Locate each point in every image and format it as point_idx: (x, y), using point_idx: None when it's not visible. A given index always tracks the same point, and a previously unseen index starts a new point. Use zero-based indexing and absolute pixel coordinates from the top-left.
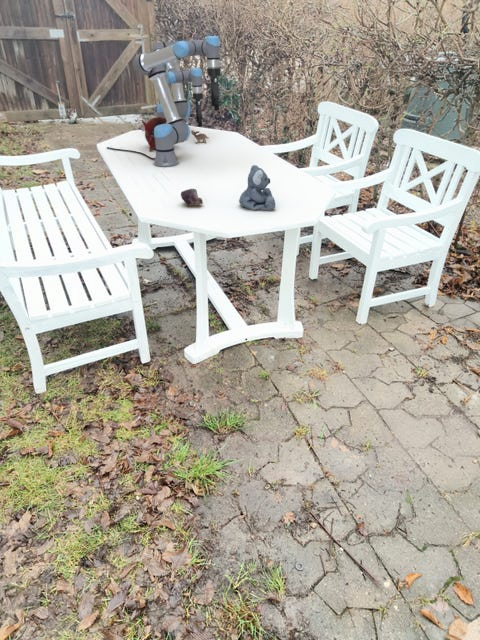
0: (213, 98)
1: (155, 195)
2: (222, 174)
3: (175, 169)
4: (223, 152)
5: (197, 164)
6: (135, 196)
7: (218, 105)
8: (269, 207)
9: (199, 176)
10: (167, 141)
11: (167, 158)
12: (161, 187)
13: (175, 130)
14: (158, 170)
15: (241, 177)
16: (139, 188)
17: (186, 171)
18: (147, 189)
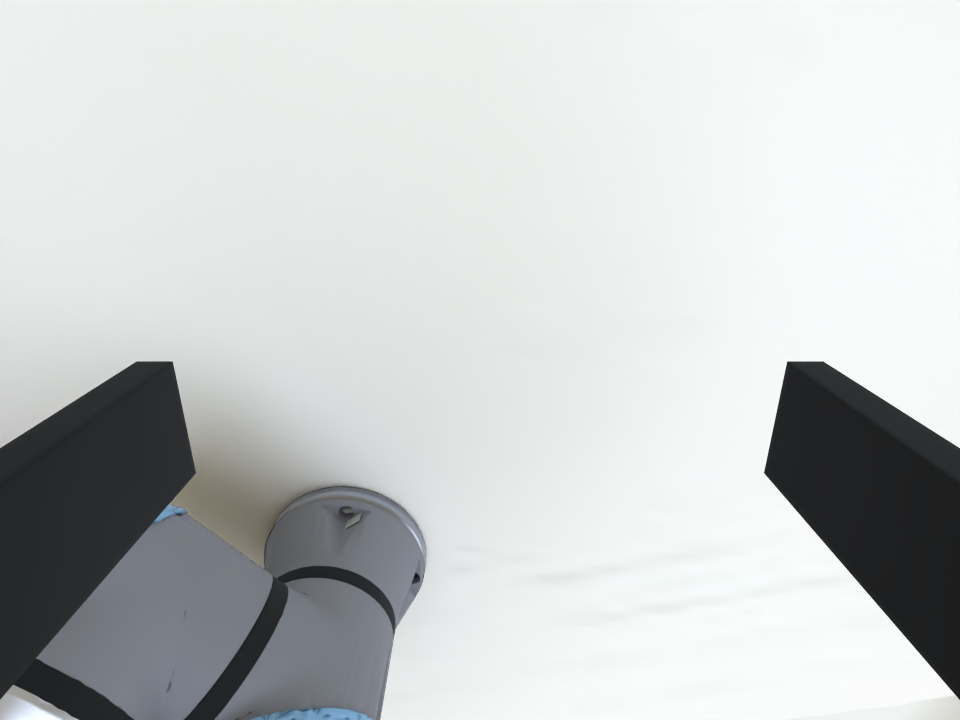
0: (42, 559)
1: None
2: (708, 208)
3: (494, 507)
4: (18, 95)
5: (398, 363)
6: (912, 691)
7: (905, 428)
8: None
9: (699, 377)
10: (378, 669)
11: (409, 580)
12: (828, 588)
13: (246, 668)
14: (494, 595)
15: (844, 59)
16: (797, 677)
17: (558, 447)
18: (830, 647)
